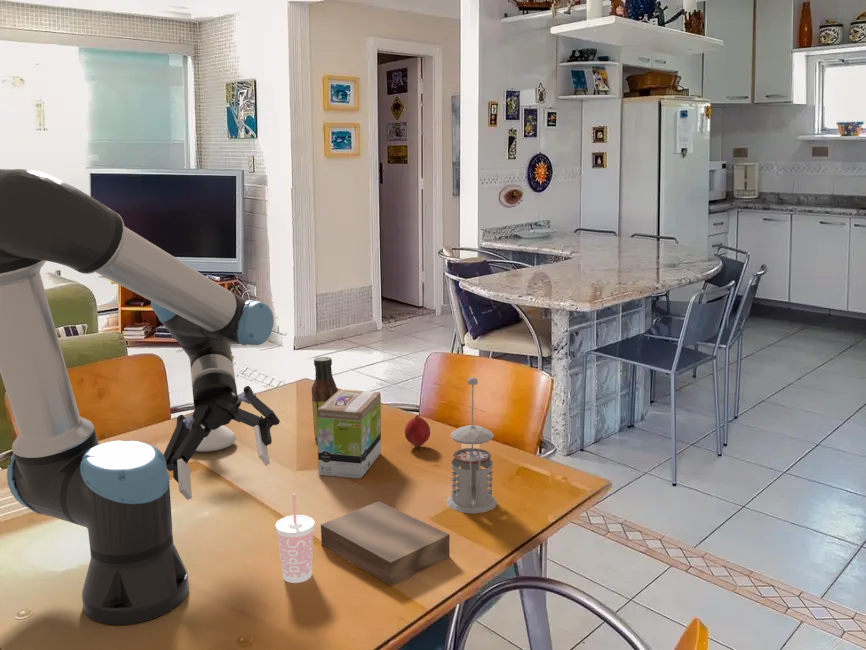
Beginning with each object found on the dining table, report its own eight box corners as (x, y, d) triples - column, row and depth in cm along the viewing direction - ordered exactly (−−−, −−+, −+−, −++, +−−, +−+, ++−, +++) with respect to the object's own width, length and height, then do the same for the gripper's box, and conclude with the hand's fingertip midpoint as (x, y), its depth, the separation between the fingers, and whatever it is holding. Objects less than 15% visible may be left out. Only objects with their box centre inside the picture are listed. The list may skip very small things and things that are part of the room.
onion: (400, 445, 183) (400, 411, 181) (423, 441, 185) (423, 408, 183) (410, 453, 177) (410, 419, 176) (434, 449, 180) (434, 416, 178)
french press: (494, 490, 158) (496, 369, 153) (501, 517, 147) (503, 387, 141) (445, 491, 158) (445, 370, 152) (448, 518, 146) (448, 388, 141)
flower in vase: (174, 453, 178) (166, 345, 173) (203, 436, 189) (195, 333, 183) (225, 459, 174) (218, 349, 169) (251, 441, 185) (246, 337, 180)
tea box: (363, 480, 164) (361, 411, 160) (317, 476, 165) (314, 408, 162) (382, 453, 178) (381, 390, 175) (339, 450, 180) (337, 387, 177)
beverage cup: (271, 582, 125) (267, 500, 122) (287, 563, 130) (283, 484, 127) (307, 587, 123) (304, 504, 120) (322, 567, 129) (319, 487, 126)
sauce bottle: (346, 439, 186) (344, 357, 182) (329, 447, 181) (326, 363, 177) (325, 434, 190) (322, 353, 186) (307, 442, 185) (304, 359, 180)
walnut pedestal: (391, 585, 124) (390, 562, 123) (321, 546, 136) (320, 524, 135) (449, 556, 132) (449, 534, 132) (379, 521, 145) (378, 501, 144)
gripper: (287, 370, 144) (306, 458, 128) (161, 426, 144) (165, 520, 128) (269, 343, 139) (287, 432, 123) (138, 401, 138) (139, 496, 123)
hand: (224, 477), depth 126 cm, fingers open, 13 cm apart
